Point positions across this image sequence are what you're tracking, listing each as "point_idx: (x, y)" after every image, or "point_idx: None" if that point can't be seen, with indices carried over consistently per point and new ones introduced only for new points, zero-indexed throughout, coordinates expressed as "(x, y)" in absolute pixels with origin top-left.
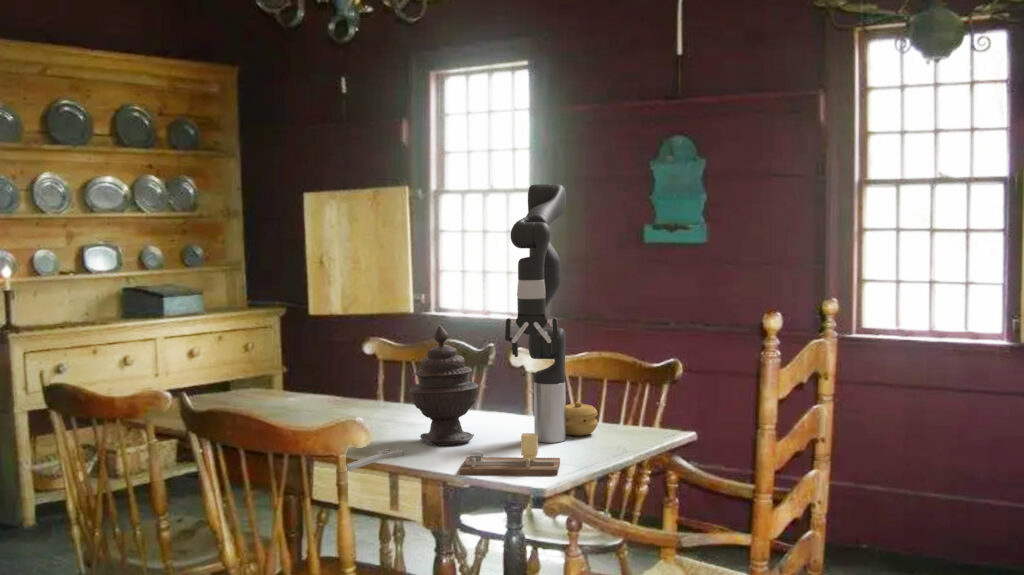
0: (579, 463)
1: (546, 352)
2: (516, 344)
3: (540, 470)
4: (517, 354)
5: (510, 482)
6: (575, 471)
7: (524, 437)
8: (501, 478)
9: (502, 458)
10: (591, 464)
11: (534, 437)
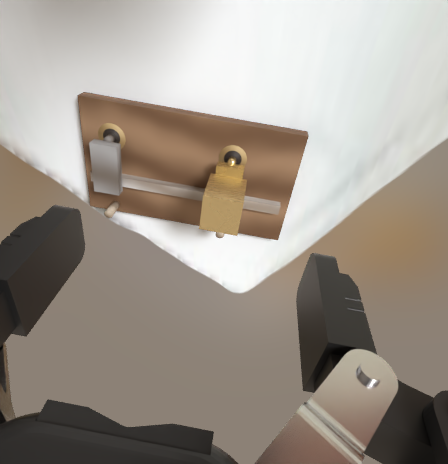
0: (355, 136)
1: (298, 319)
2: (26, 328)
3: (245, 232)
4: (74, 246)
5: (191, 261)
6: (321, 208)
7: (207, 228)
8: (175, 236)
9: (166, 124)
10: (380, 150)
11: (232, 233)
